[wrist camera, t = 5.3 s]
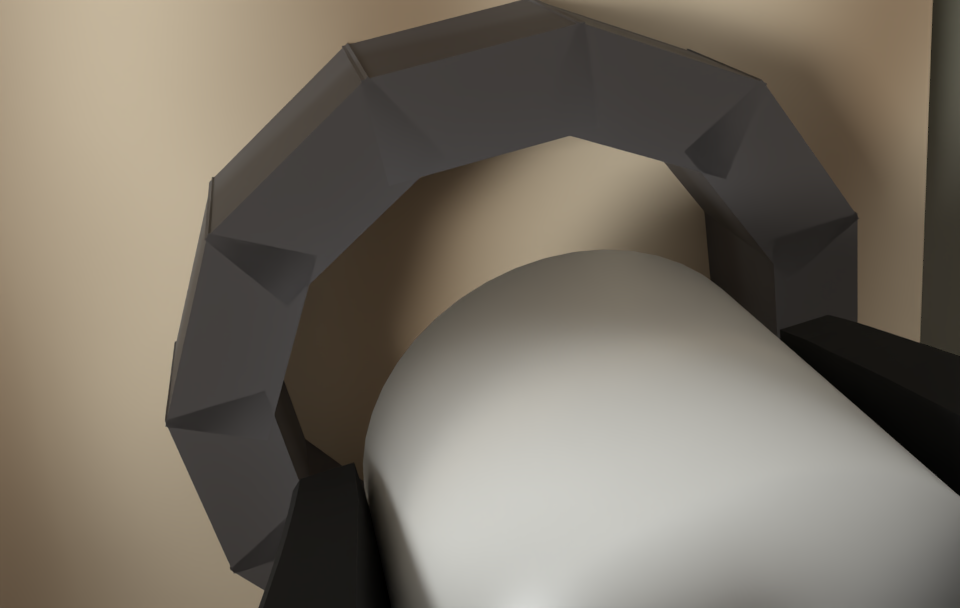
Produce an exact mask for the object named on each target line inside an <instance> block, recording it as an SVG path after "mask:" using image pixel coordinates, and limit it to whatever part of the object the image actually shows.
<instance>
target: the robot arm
mask: <svg viewBox="0 0 960 608" xmlns="http://www.w3.org/2000/svg"><path fill="white" fill-rule="evenodd" d="M780 340H781V341H782V342H783V343H785V344H786V345H787V346H788V347H789V348H790V349H791V350H793V351H794V352H795V353H796V354H797V355H798V356H799V357H801V358H802V359H803V360H804V361H805V362H806V363H807V364H809V365H810V366H811V367H812V368H813V369H814V370H816V371H817V372H818V373H819V374H820V375H821V376H822V377H824V378H825V379H826V380H827V381H828V382H829V383H830V384H832V385H833V386H834V387H835V388H836V389H837V390H838V391H840V392H841V393H842V394H843V395H844V396H845V397H846V398H848V399H849V400H850V401H851V402H852V403H853V404H854V405H856V406H857V407H858V408H859V409H860V410H861V411H862V412H864V413H865V414H866V415H867V416H868V417H869V418H871V419H872V420H873V421H874V422H875V423H876V424H877V425H879V426H880V427H881V428H882V429H883V430H884V431H885V432H887V433H888V434H889V435H890V436H891V437H892V438H893V439H895V440H896V441H897V442H898V443H899V444H900V445H901V446H903V447H904V448H905V449H906V450H907V451H908V452H909V453H911V454H912V455H913V456H914V457H915V458H916V459H918V460H919V461H920V462H921V463H922V464H923V465H924V466H926V467H927V468H928V469H929V470H930V471H931V472H932V473H934V474H935V475H936V476H937V477H938V478H939V479H940V480H942V481H943V482H944V483H945V484H946V485H947V486H948V487H950V488H951V489H952V490H953V491H954V492H955V493H956V494H958V495H959V496H960V356H957V355H954V354H951V353H948V352H945V351H942V350H939V349H936V348H933V347H930V346H928V345H925V344H922V343H919V342H916V341H913V340H910V339H907V338H904V337H901V336H898V335H895V334H892V333H889V332H885V331H882V330H879V329H876V328H873V327H870V326H867V325H864V324H860V323H857V322H854V321H850V320H847V319H843V318H839V317H835V316H831V315H825V316H822V317H819V318H815V319H812V320H809V321H806V322H803V323H799V324H796V325H793V326H790V327H787V328H783V329H780ZM258 608H391V605H390V600H389V596H388V591H387V587H386V582H385V578H384V573H383V569H382V564H381V560H380V555H379V551H378V546H377V542H376V537H375V533H374V528H373V524H372V519H371V514H370V510H369V505H368V502H367V499H366V496H365V493H364V490H363V487H362V484H361V481H360V478H359V475H358V472H357V469H356V466H355V463H354V462H353V463H350V464H347V465H343V466H340V467H337V468H334V469H331V470H327V471H324V472H321V473H318V474H315V475H311V476H308V477H305V478H302V479H300V480H299V482H298V483H297V485H296V486H295V488H294V489H293V492H292V497H291V502H290V506H289V511H288V515H287V519H286V523H285V526H284V530H283V534H282V537H281V541H280V544H279V547H278V551H277V554H276V557H275V560H274V564H273V567H272V570H271V573H270V576H269V579H268V582H267V585H266V588H265V590H264V593H263V596H262V599H261V602H260V605H259V607H258Z"/></svg>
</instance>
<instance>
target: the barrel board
mask: <svg viewBox="0 0 960 608" xmlns="http://www.w3.org/2000/svg"><path fill="white" fill-rule="evenodd" d="M932 7H933V0H0V608H258V607H259V605H260V602H261V599H262V596H263V593H264V590H265V588H266V585H267V582H268V579H269V576H270V573H271V570H272V567H273V564H274V560H275V557H276V554H277V551H278V547H279V544H280V541H281V537H282V534H283V530H284V526H285V523H286V519H287V515H288V511H289V506H290V502H291V497H292V492H293V489H294V488H295V486H296V485H297V483H298V482H299V480H300V479H302V478H305V477H308V476H311V475H315V474H318V473H321V472H324V471H327V470H331V469H334V468H337V467H340V466H343V465H347V464H350V463H353V462H354V463H355V466H356V469H357V472H358V475H359V478H360V481H361V484H362V487H363V490H364V493H365V489H364V475H363V457H364V448H365V438H366V434H367V431H368V427H369V423H370V419H371V415H372V412H373V410H374V407H375V405H376V402H377V400H378V398H379V395H380V393H381V390H382V388H383V386H384V385H385V383H386V381H387V379H388V378H389V376H390V374H391V373H392V371H393V369H394V367H395V366H396V364H397V362H398V361H399V360H400V359H401V357H402V356H403V355H404V353H405V352H406V351H407V349H408V348H409V347H410V346H411V344H412V343H413V342H414V340H415V339H416V338H417V337H418V336H419V335H420V334H421V333H422V332H423V331H424V330H425V329H426V328H427V327H428V326H429V325H430V324H431V323H432V322H433V321H434V320H435V319H436V318H437V317H438V316H439V315H441V314H442V313H443V312H444V311H446V310H447V309H448V308H449V307H451V306H452V305H453V304H454V303H455V302H457V301H458V300H459V299H460V298H462V297H464V296H465V295H467V294H468V293H470V292H472V291H473V290H475V289H476V288H478V287H480V286H481V285H483V284H484V283H486V282H488V281H490V280H492V279H494V278H496V277H498V276H500V275H502V274H504V273H506V272H508V271H511V270H513V269H515V268H518V267H520V266H523V265H526V264H529V263H532V262H535V261H538V260H541V259H544V258H548V257H553V256H557V255H562V254H567V253H571V252H579V251H591V250H602V249H604V250H628V251H636V252H641V253H647V254H652V255H657V256H660V257H663V258H666V259H669V260H672V261H675V262H678V263H681V264H683V265H685V266H687V267H689V268H691V269H693V270H695V271H697V272H699V273H701V274H702V275H704V276H705V277H707V278H708V279H709V280H711V281H712V282H713V283H715V284H716V285H717V286H719V287H720V288H721V289H723V290H724V291H725V292H726V293H727V294H728V295H730V296H731V297H732V298H733V299H734V300H735V301H736V302H738V303H739V304H740V305H741V306H742V307H743V308H744V309H746V310H747V311H748V312H749V313H750V314H751V315H752V316H754V317H755V318H756V319H757V320H758V321H759V322H760V323H762V324H763V325H764V326H765V327H766V328H767V329H769V330H770V331H771V332H772V333H773V334H774V335H775V336H777V337H778V338H779V339H780V329H783V328H787V327H790V326H793V325H796V324H799V323H803V322H806V321H809V320H812V319H815V318H819V317H822V316H825V315H831V316H835V317H839V318H843V319H847V320H850V321H854V322H857V323H860V324H864V325H867V326H870V327H873V328H876V329H879V330H882V331H885V332H889V333H892V334H895V335H898V336H901V337H904V338H907V339H910V340H913V341H916V342H919V343H920V329H921V302H922V275H923V248H924V222H925V195H926V168H927V141H928V114H929V87H930V60H931V34H932ZM365 496H366V493H365ZM366 499H367V498H366Z"/></svg>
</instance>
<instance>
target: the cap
mask: <svg viewBox="0 0 960 608" xmlns="http://www.w3.org/2000/svg"><path fill="white" fill-rule="evenodd" d="M363 475H364V489H365V493H366V498H367V502H368V505H369V510H370V514H371V519H372V524H373V528H374V533H375V537H376V542H377V546H378V551H379V555H380V560H381V564H382V569H383V573H384V578H385V582H386V587H387V591H388V596H389V600H390V605H391V608H960V496H959V495H958V494H956V493H955V492H954V491H953V490H952V489H951V488H950V487H948V486H947V485H946V484H945V483H944V482H943V481H942V480H940V479H939V478H938V477H937V476H936V475H935V474H934V473H932V472H931V471H930V470H929V469H928V468H927V467H926V466H924V465H923V464H922V463H921V462H920V461H919V460H918V459H916V458H915V457H914V456H913V455H912V454H911V453H909V452H908V451H907V450H906V449H905V448H904V447H903V446H901V445H900V444H899V443H898V442H897V441H896V440H895V439H893V438H892V437H891V436H890V435H889V434H888V433H887V432H885V431H884V430H883V429H882V428H881V427H880V426H879V425H877V424H876V423H875V422H874V421H873V420H872V419H871V418H869V417H868V416H867V415H866V414H865V413H864V412H862V411H861V410H860V409H859V408H858V407H857V406H856V405H854V404H853V403H852V402H851V401H850V400H849V399H848V398H846V397H845V396H844V395H843V394H842V393H841V392H840V391H838V390H837V389H836V388H835V387H834V386H833V385H832V384H830V383H829V382H828V381H827V380H826V379H825V378H824V377H822V376H821V375H820V374H819V373H818V372H817V371H816V370H814V369H813V368H812V367H811V366H810V365H809V364H807V363H806V362H805V361H804V360H803V359H802V358H801V357H799V356H798V355H797V354H796V353H795V352H794V351H793V350H791V349H790V348H789V347H788V346H787V345H786V344H785V343H783V342H782V341H781V340H780V339H779V338H778V337H777V336H775V335H774V334H773V333H772V332H771V331H770V330H769V329H767V328H766V327H765V326H764V325H763V324H762V323H760V322H759V321H758V320H757V319H756V318H755V317H754V316H752V315H751V314H750V313H749V312H748V311H747V310H746V309H744V308H743V307H742V306H741V305H740V304H739V303H738V302H736V301H735V300H734V299H733V298H732V297H731V296H730V295H728V294H727V293H726V292H725V291H724V290H723V289H721V288H720V287H719V286H717V285H716V284H715V283H713V282H712V281H711V280H709V279H708V278H707V277H705V276H704V275H702V274H701V273H699V272H697V271H695V270H693V269H691V268H689V267H687V266H685V265H683V264H681V263H678V262H675V261H672V260H669V259H666V258H663V257H660V256H657V255H652V254H647V253H641V252H636V251H628V250H604V249H602V250H591V251H579V252H571V253H567V254H562V255H557V256H553V257H548V258H544V259H541V260H538V261H535V262H532V263H529V264H526V265H523V266H520V267H518V268H515V269H513V270H511V271H508V272H506V273H504V274H502V275H500V276H498V277H496V278H494V279H492V280H490V281H488V282H486V283H484V284H483V285H481V286H480V287H478V288H476V289H475V290H473V291H472V292H470V293H468V294H467V295H465V296H464V297H462V298H460V299H459V300H458V301H457V302H455V303H454V304H453V305H452V306H451V307H449V308H448V309H447V310H446V311H444V312H443V313H442V314H441V315H439V316H438V317H437V318H436V319H435V320H434V321H433V322H432V323H431V324H430V325H429V326H428V327H427V328H426V329H425V330H424V331H423V332H422V333H421V334H420V335H419V336H418V337H417V338H416V339H415V340H414V342H413V343H412V344H411V346H410V347H409V348H408V349H407V351H406V352H405V353H404V355H403V356H402V357H401V359H400V360H399V361H398V362H397V364H396V366H395V367H394V369H393V371H392V373H391V374H390V376H389V378H388V379H387V381H386V383H385V385H384V386H383V388H382V390H381V393H380V395H379V398H378V400H377V402H376V405H375V407H374V410H373V412H372V415H371V419H370V423H369V427H368V431H367V434H366V438H365V448H364V457H363Z"/></svg>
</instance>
